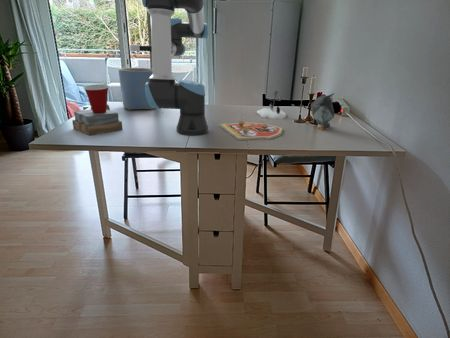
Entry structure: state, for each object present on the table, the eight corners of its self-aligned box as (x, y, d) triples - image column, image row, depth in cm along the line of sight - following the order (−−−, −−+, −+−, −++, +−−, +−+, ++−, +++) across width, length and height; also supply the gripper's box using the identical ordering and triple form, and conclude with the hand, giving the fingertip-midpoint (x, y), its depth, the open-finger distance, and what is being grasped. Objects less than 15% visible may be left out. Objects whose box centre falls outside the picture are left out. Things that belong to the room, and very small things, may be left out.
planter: (159, 110, 188) (158, 71, 179) (121, 111, 182) (117, 70, 173) (157, 104, 208) (155, 68, 199) (122, 104, 202) (119, 67, 193)
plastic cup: (81, 112, 138) (77, 85, 134) (99, 109, 147) (96, 83, 143) (99, 115, 134) (95, 88, 130) (116, 111, 143) (114, 85, 139)
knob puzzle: (217, 126, 159) (217, 118, 157) (267, 123, 169) (268, 115, 167) (239, 142, 134) (240, 132, 132) (296, 138, 144) (298, 129, 142)
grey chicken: (300, 127, 162) (305, 92, 155) (316, 123, 172) (321, 90, 165) (324, 133, 152) (330, 96, 146) (339, 128, 162) (346, 94, 155)
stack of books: (122, 129, 145) (121, 112, 142) (89, 135, 133) (87, 117, 130) (105, 123, 154) (103, 107, 151) (73, 128, 143) (70, 111, 140)
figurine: (254, 110, 197) (257, 84, 189) (282, 111, 198) (286, 86, 190) (259, 120, 179) (262, 92, 172) (289, 121, 180) (293, 94, 173)
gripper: (187, 57, 160) (165, 58, 141) (147, 55, 168) (121, 56, 149) (187, 42, 157) (165, 41, 138) (146, 40, 165) (120, 39, 147)
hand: (142, 48), depth 144 cm, fingers open, 13 cm apart
